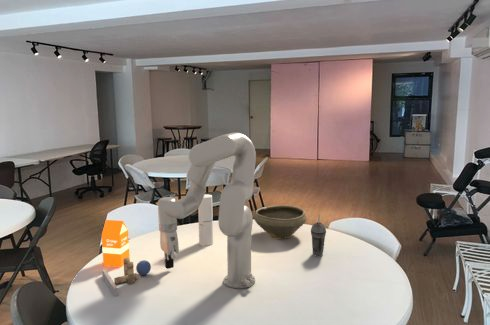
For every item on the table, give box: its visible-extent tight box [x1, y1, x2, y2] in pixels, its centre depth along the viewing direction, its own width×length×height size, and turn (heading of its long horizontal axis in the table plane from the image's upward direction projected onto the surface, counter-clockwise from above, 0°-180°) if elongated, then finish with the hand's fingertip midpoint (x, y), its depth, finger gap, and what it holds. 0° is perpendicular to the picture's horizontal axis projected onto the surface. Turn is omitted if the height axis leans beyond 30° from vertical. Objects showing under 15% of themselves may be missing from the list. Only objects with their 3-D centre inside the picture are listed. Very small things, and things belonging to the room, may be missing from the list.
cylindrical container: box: [197, 193, 214, 247], centre depth 198 cm, size 7×7×25 cm
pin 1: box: [123, 258, 131, 276], centre depth 160 cm, size 2×2×8 cm
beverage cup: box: [310, 213, 327, 257], centre depth 183 cm, size 7×7×20 cm
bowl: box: [253, 204, 307, 240], centre depth 210 cm, size 28×28×14 cm
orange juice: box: [101, 219, 130, 268], centre depth 175 cm, size 8×9×20 cm
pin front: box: [113, 272, 138, 285], centre depth 158 cm, size 2×2×8 cm
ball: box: [135, 259, 152, 276], centre depth 164 cm, size 6×6×6 cm
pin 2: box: [127, 261, 135, 285], centre depth 156 cm, size 2×2×8 cm
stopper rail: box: [101, 268, 119, 297], centre depth 154 cm, size 20×1×3 cm, turn 32°
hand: (169, 267), depth 167 cm, fingers closed
